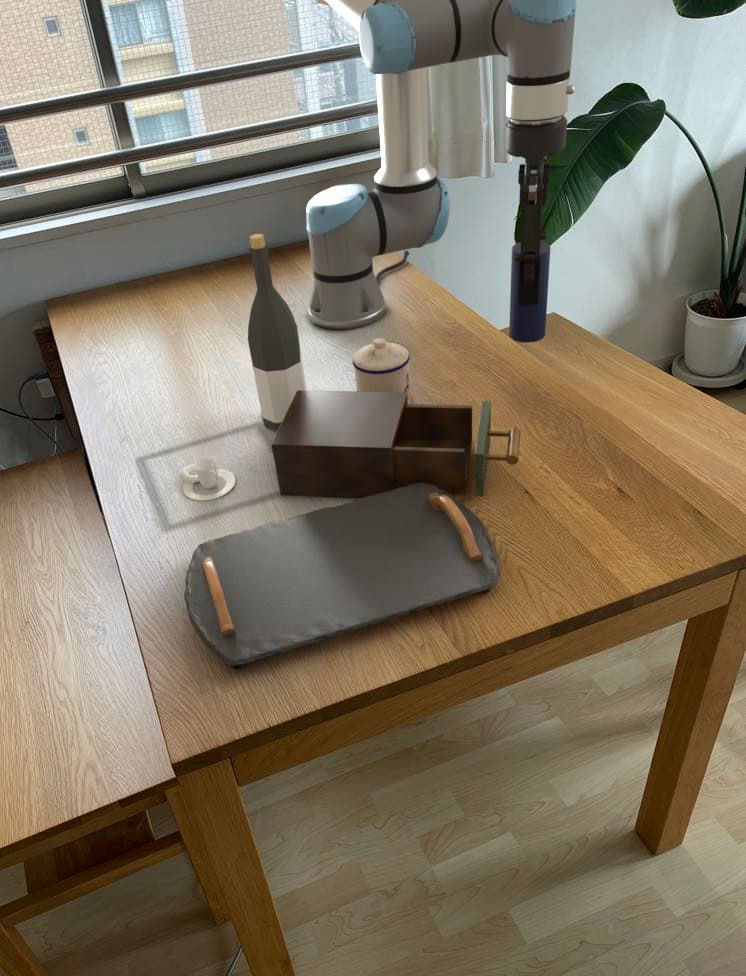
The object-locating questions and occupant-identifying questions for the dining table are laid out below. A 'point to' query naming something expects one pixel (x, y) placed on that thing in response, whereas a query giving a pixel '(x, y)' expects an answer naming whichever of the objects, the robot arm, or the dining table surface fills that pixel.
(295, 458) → the cabinet
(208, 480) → the teacup and saucer
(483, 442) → the drawer
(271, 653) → the serving tray
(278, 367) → the wine bottle
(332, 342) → the dining table surface
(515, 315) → the navy cylinder
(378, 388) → the teacup with lid
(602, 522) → the dining table surface
